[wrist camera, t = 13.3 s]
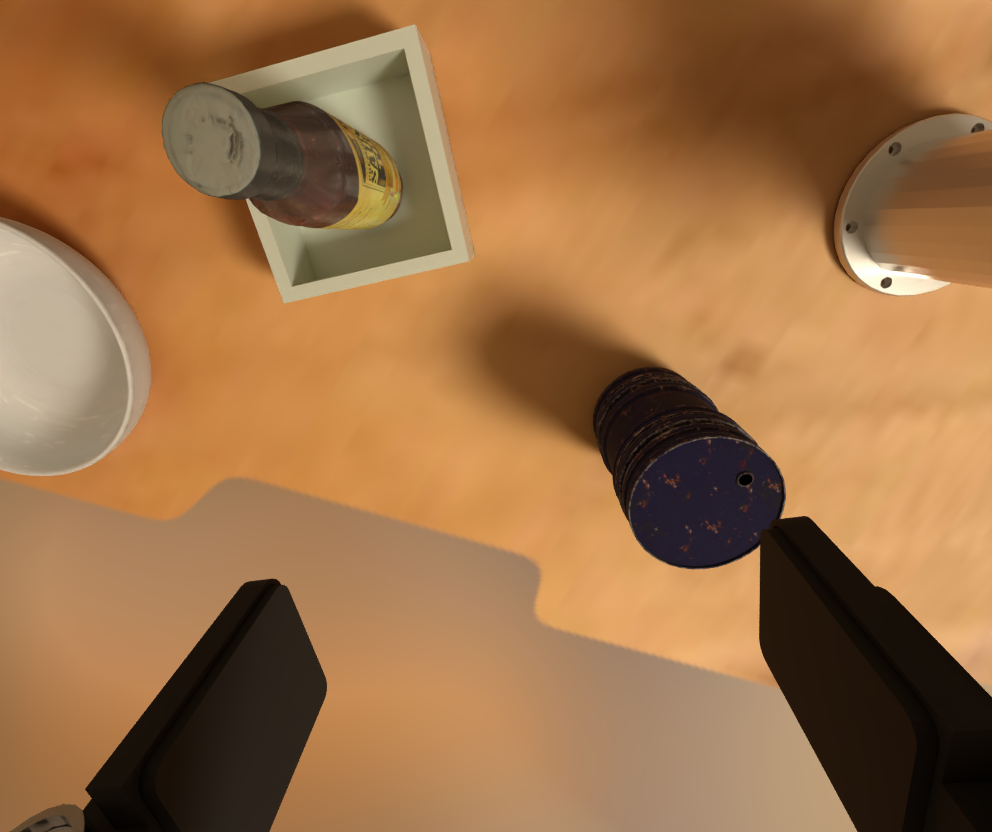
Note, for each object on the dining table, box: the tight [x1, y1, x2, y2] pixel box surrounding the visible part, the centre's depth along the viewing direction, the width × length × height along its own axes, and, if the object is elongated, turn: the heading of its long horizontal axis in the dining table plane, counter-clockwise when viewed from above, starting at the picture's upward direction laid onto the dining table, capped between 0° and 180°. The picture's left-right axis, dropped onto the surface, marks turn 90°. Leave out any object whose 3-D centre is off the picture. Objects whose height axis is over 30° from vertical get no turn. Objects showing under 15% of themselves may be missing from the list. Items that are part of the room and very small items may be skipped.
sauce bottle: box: [162, 82, 403, 230], centre depth 29 cm, size 7×6×20 cm
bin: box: [210, 25, 475, 303], centre depth 36 cm, size 14×14×6 cm
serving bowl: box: [0, 217, 151, 476], centre depth 41 cm, size 21×21×7 cm
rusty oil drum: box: [593, 367, 786, 569], centre depth 38 cm, size 10×10×15 cm
